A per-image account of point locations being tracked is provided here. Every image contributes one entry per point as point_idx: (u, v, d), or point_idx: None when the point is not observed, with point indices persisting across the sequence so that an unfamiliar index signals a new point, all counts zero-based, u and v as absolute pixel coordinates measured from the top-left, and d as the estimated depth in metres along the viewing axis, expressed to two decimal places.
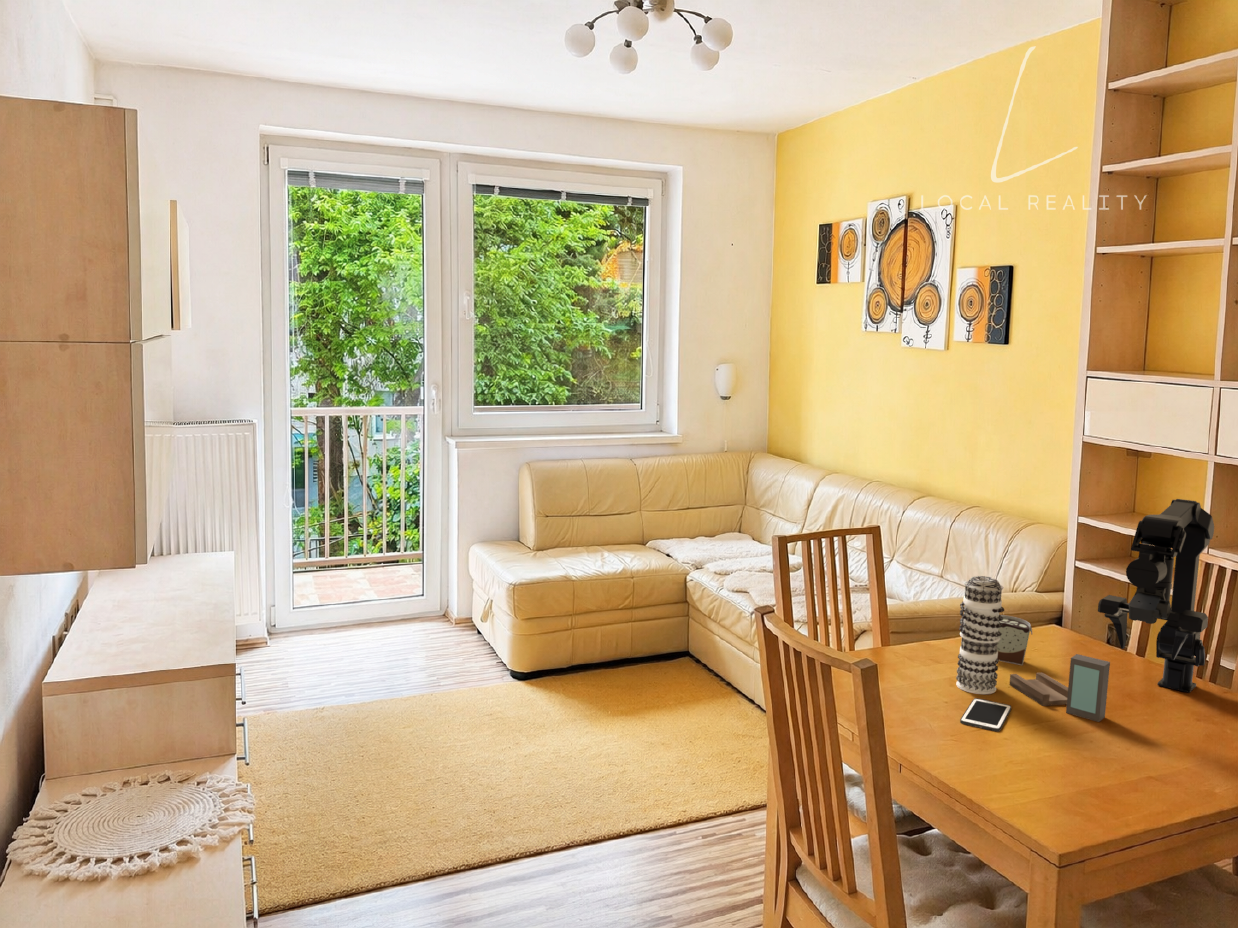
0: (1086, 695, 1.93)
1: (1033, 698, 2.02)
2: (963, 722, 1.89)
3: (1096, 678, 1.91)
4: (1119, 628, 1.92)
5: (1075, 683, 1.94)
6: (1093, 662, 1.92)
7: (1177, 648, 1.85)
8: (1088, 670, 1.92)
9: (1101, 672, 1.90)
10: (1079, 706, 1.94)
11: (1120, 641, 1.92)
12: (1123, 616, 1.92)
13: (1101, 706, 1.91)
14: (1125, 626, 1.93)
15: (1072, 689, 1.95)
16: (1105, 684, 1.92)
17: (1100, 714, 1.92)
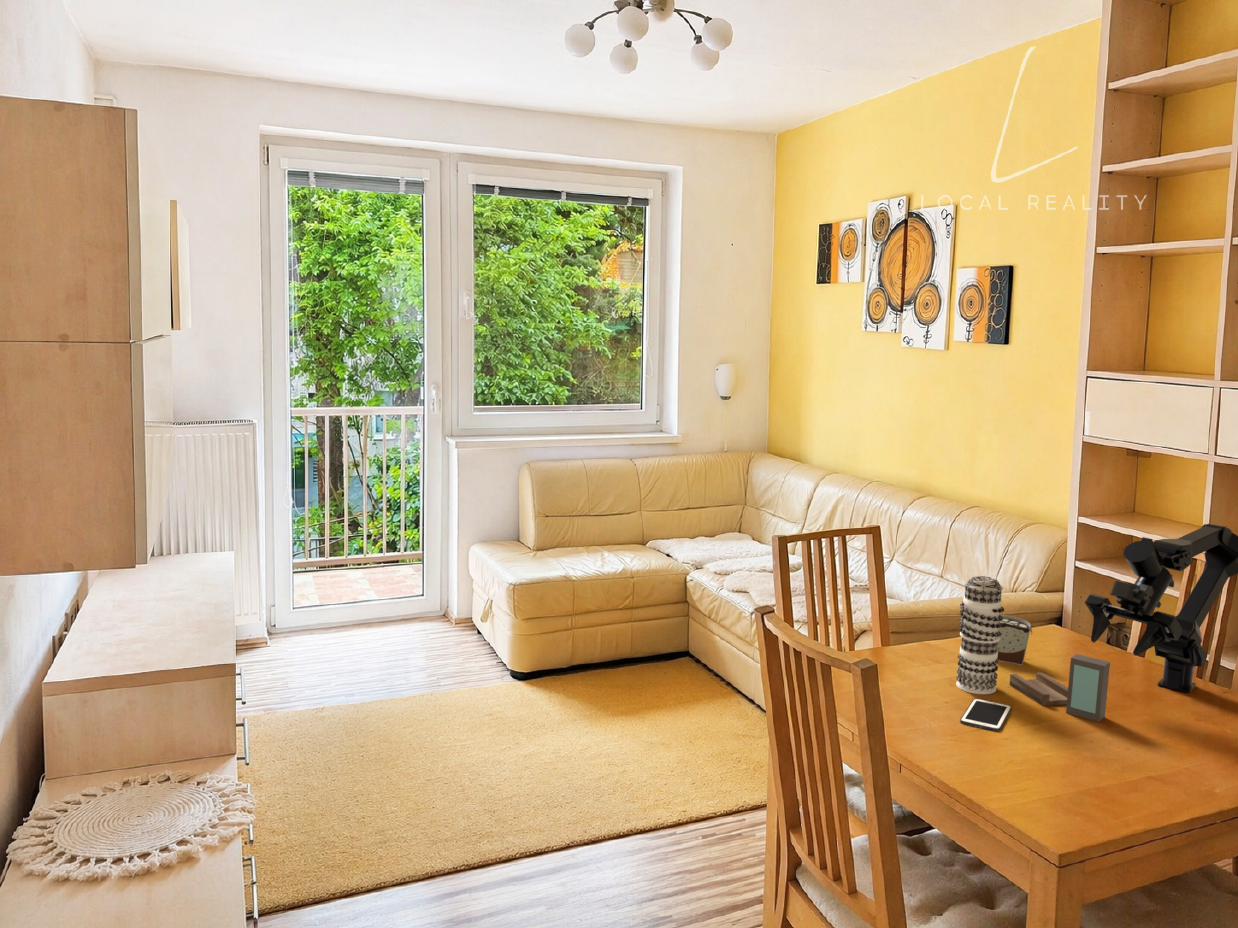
0: (1086, 695, 1.93)
1: (1033, 698, 2.02)
2: (963, 722, 1.89)
3: (1096, 678, 1.91)
4: (1097, 620, 2.02)
5: (1075, 683, 1.94)
6: (1093, 662, 1.92)
7: (1142, 642, 1.92)
8: (1088, 670, 1.92)
9: (1101, 672, 1.90)
10: (1079, 706, 1.94)
11: (1093, 633, 2.01)
12: (1105, 617, 2.03)
13: (1101, 706, 1.91)
14: (1103, 628, 2.02)
15: (1072, 689, 1.95)
16: (1105, 684, 1.92)
17: (1100, 714, 1.92)
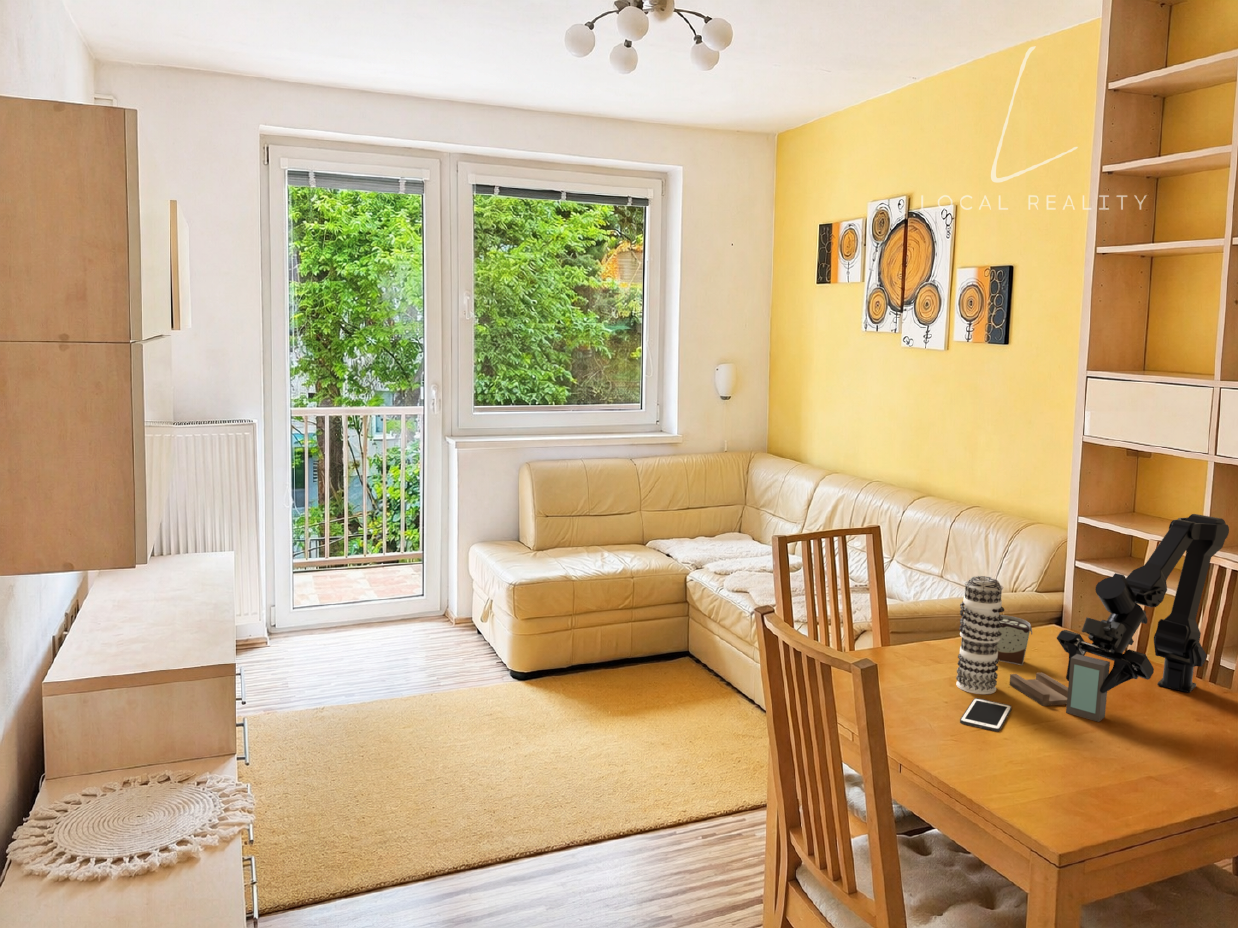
0: (1086, 695, 1.93)
1: (1033, 698, 2.02)
2: (963, 722, 1.89)
3: (1096, 678, 1.91)
4: None
5: (1075, 683, 1.94)
6: (1093, 662, 1.92)
7: (1109, 679, 1.90)
8: (1088, 670, 1.92)
9: (1101, 672, 1.90)
10: (1079, 706, 1.94)
11: (1068, 671, 1.97)
12: (1081, 654, 1.99)
13: (1101, 706, 1.91)
14: None
15: (1072, 689, 1.95)
16: None
17: (1100, 714, 1.92)
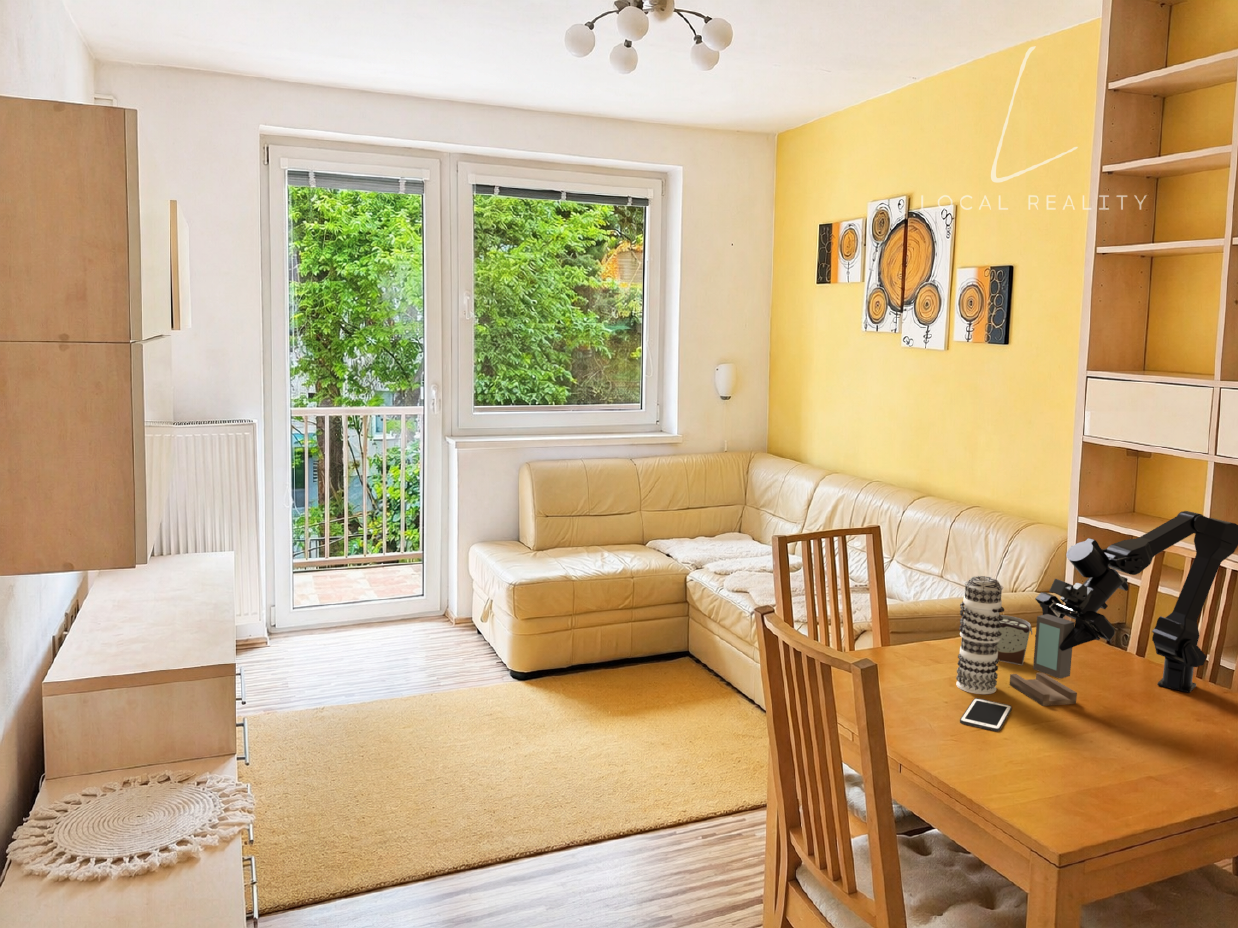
0: (1049, 652, 2.01)
1: (1033, 698, 2.02)
2: (963, 722, 1.89)
3: (1057, 636, 1.99)
4: None
5: (1040, 640, 2.03)
6: (1056, 621, 1.99)
7: (1068, 638, 1.97)
8: (1051, 628, 2.00)
9: (1061, 630, 1.98)
10: (1044, 663, 2.02)
11: None
12: (1055, 615, 2.06)
13: (1062, 663, 1.99)
14: None
15: (1038, 646, 2.03)
16: None
17: (1061, 671, 1.99)
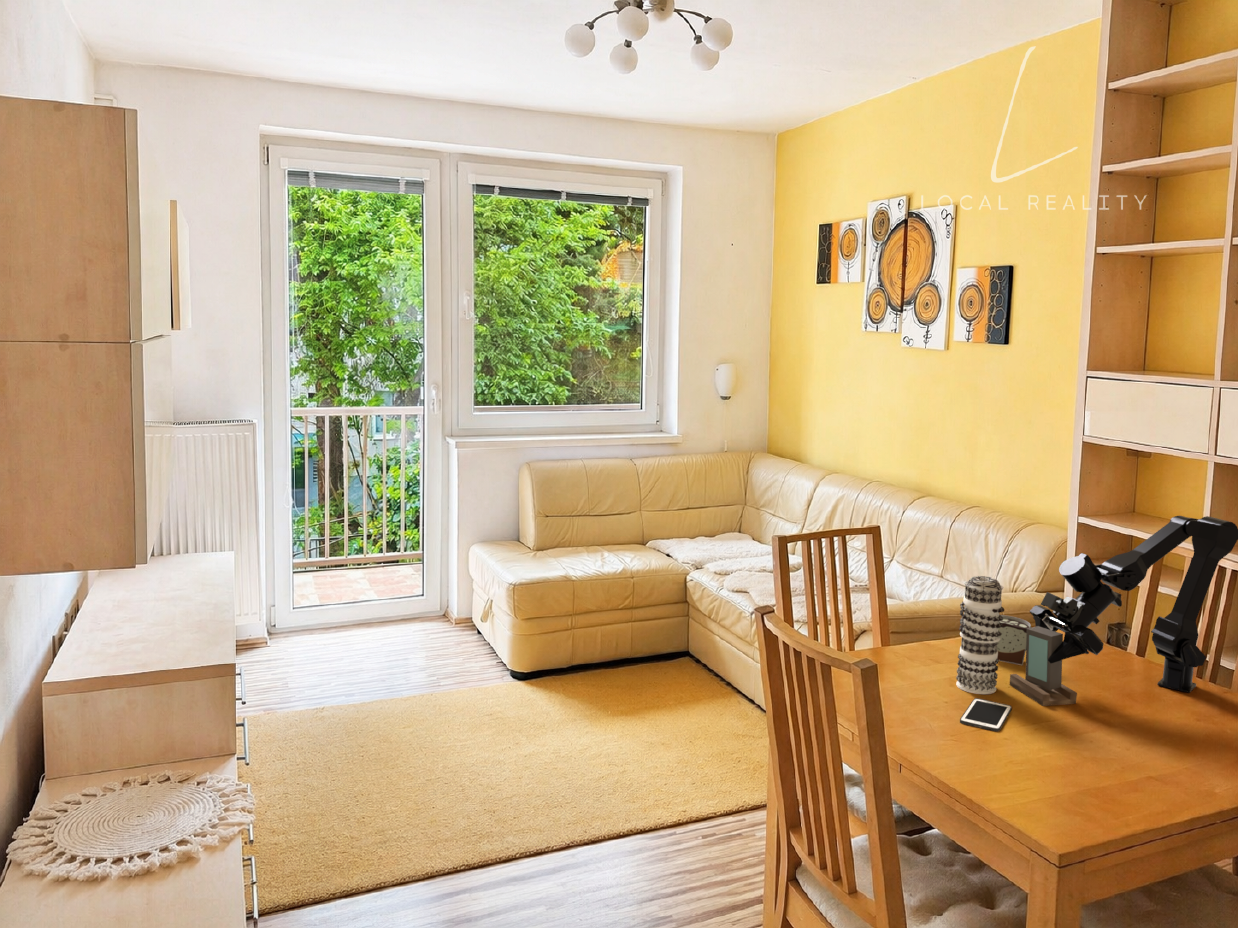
0: (1039, 664, 2.04)
1: (1033, 698, 2.02)
2: (963, 722, 1.89)
3: (1045, 648, 2.02)
4: None
5: (1030, 652, 2.06)
6: (1044, 633, 2.02)
7: (1057, 650, 2.00)
8: (1039, 640, 2.03)
9: (1049, 642, 2.01)
10: (1035, 674, 2.05)
11: None
12: (1047, 628, 2.09)
13: (1052, 675, 2.02)
14: None
15: (1028, 658, 2.06)
16: None
17: (1051, 683, 2.02)
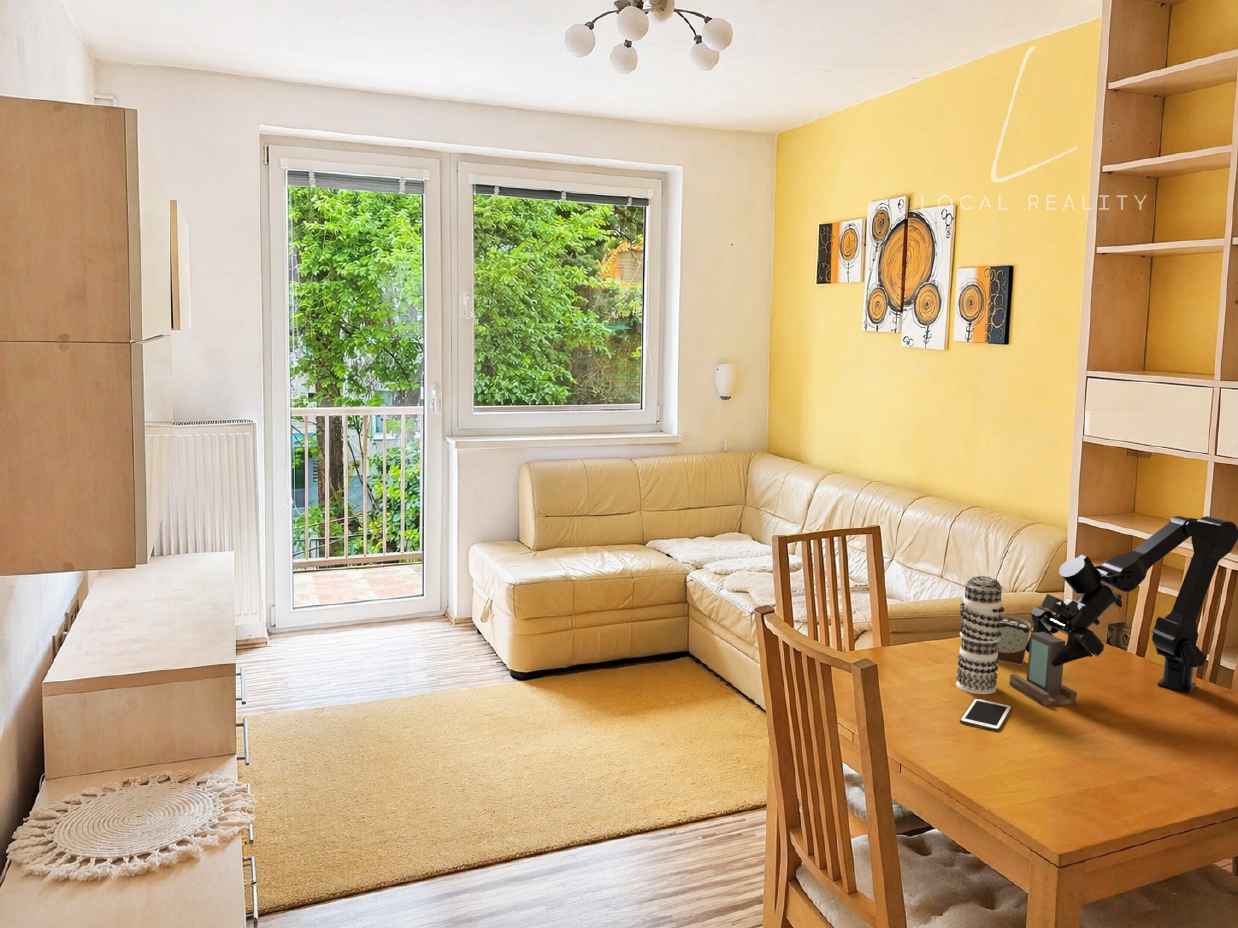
0: (1039, 669, 2.04)
1: (1033, 698, 2.02)
2: (962, 722, 1.89)
3: (1046, 653, 2.02)
4: (1034, 631, 2.09)
5: (1032, 657, 2.06)
6: (1046, 639, 2.03)
7: (1060, 654, 1.99)
8: (1041, 645, 2.04)
9: (1049, 648, 2.01)
10: (1035, 679, 2.06)
11: (1028, 642, 2.09)
12: (1046, 629, 2.10)
13: (1051, 681, 2.02)
14: None
15: (1030, 663, 2.07)
16: None
17: (1049, 688, 2.02)
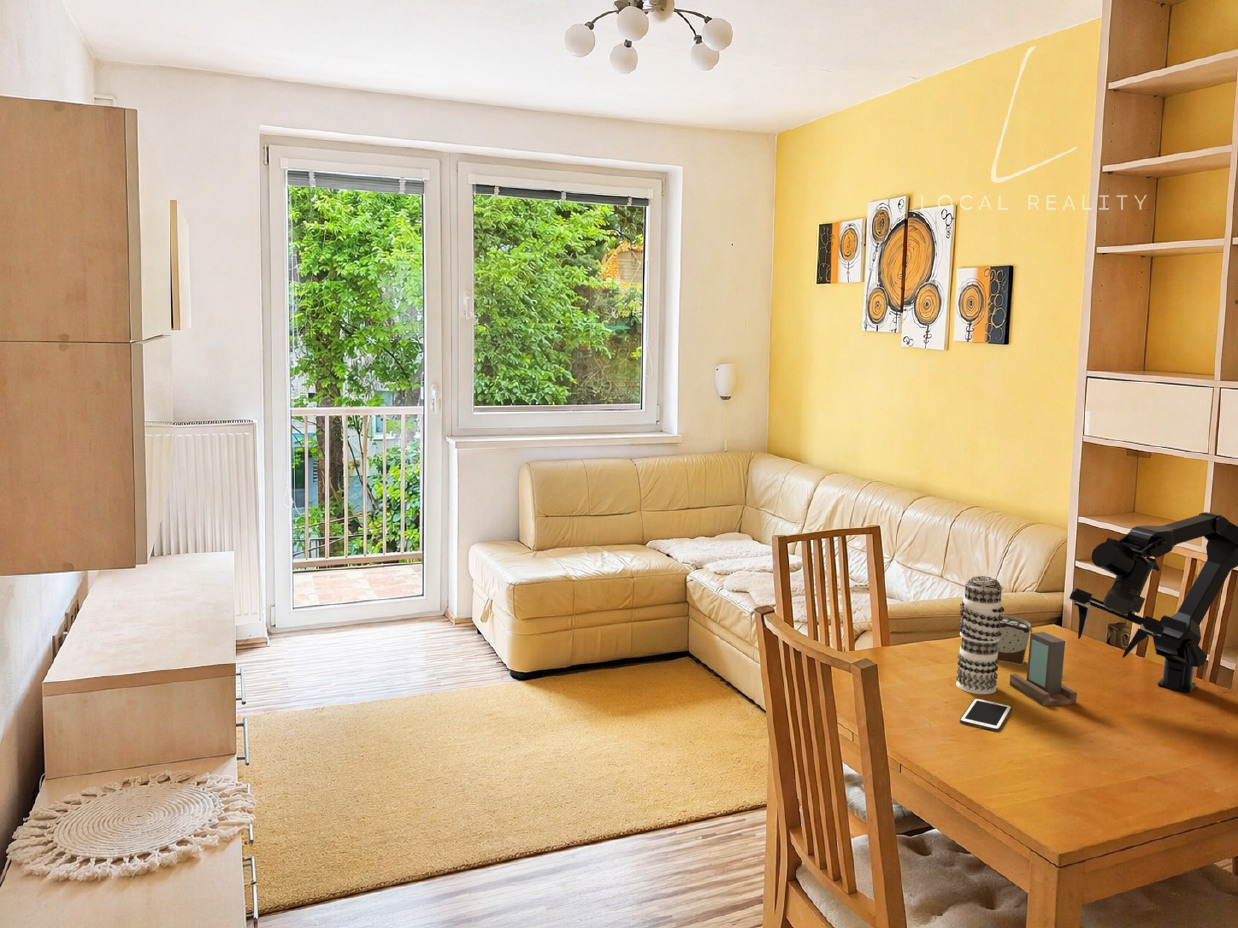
0: (1039, 669, 2.04)
1: (1033, 698, 2.02)
2: (962, 722, 1.89)
3: (1046, 653, 2.02)
4: (1083, 618, 2.05)
5: (1032, 657, 2.06)
6: (1046, 639, 2.03)
7: (1132, 647, 1.99)
8: (1041, 645, 2.04)
9: (1049, 648, 2.01)
10: (1035, 679, 2.06)
11: (1079, 631, 2.05)
12: (1088, 610, 2.06)
13: (1051, 681, 2.02)
14: (1086, 620, 2.07)
15: (1030, 663, 2.07)
16: (1057, 661, 2.02)
17: (1049, 688, 2.02)
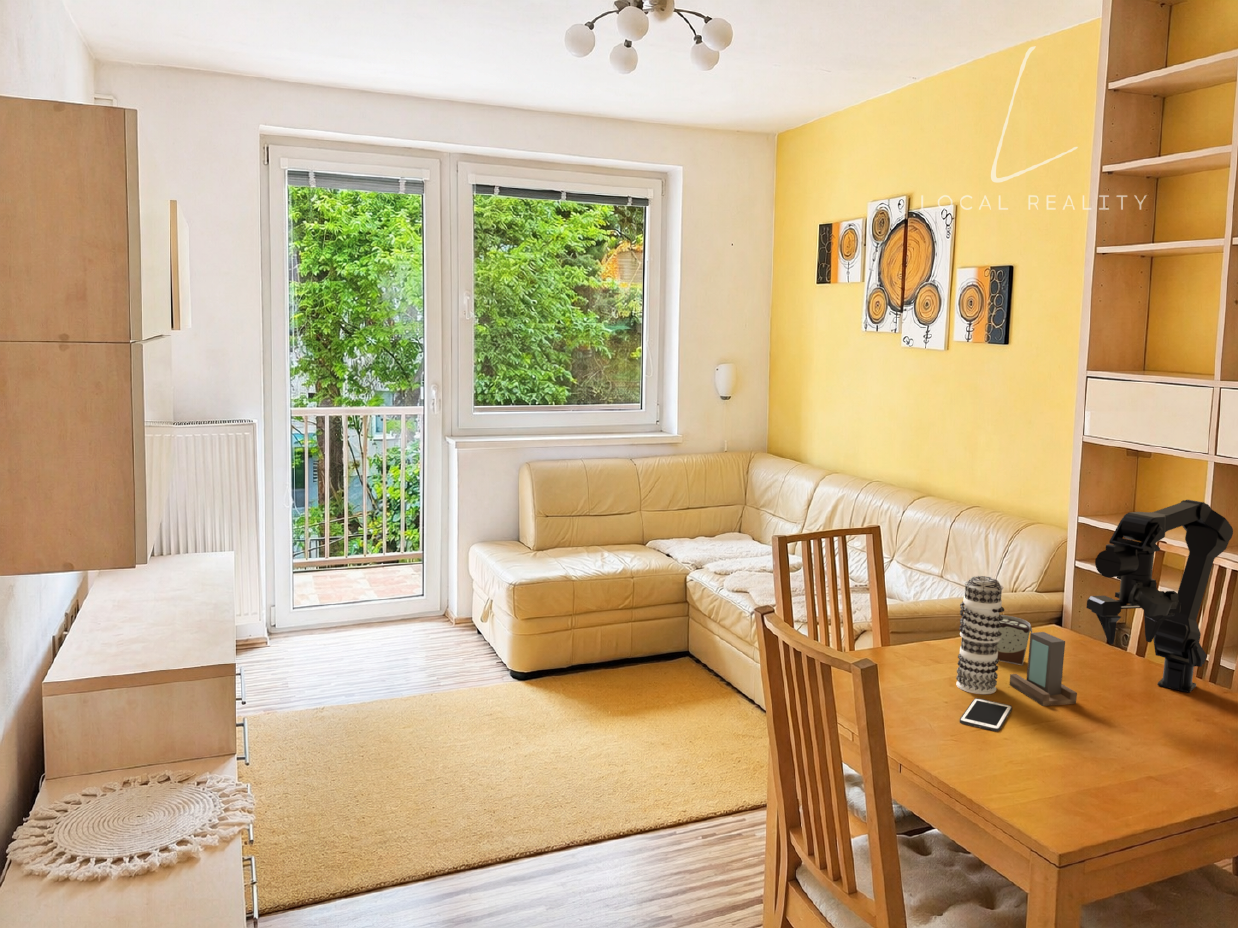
0: (1039, 669, 2.04)
1: (1033, 698, 2.02)
2: (962, 722, 1.89)
3: (1046, 653, 2.02)
4: (1114, 626, 1.99)
5: (1032, 657, 2.06)
6: (1046, 639, 2.03)
7: (1156, 630, 2.01)
8: (1041, 645, 2.04)
9: (1049, 648, 2.01)
10: (1035, 679, 2.06)
11: (1112, 637, 1.99)
12: None
13: (1051, 681, 2.02)
14: None
15: (1030, 663, 2.07)
16: (1057, 661, 2.02)
17: (1049, 688, 2.02)
